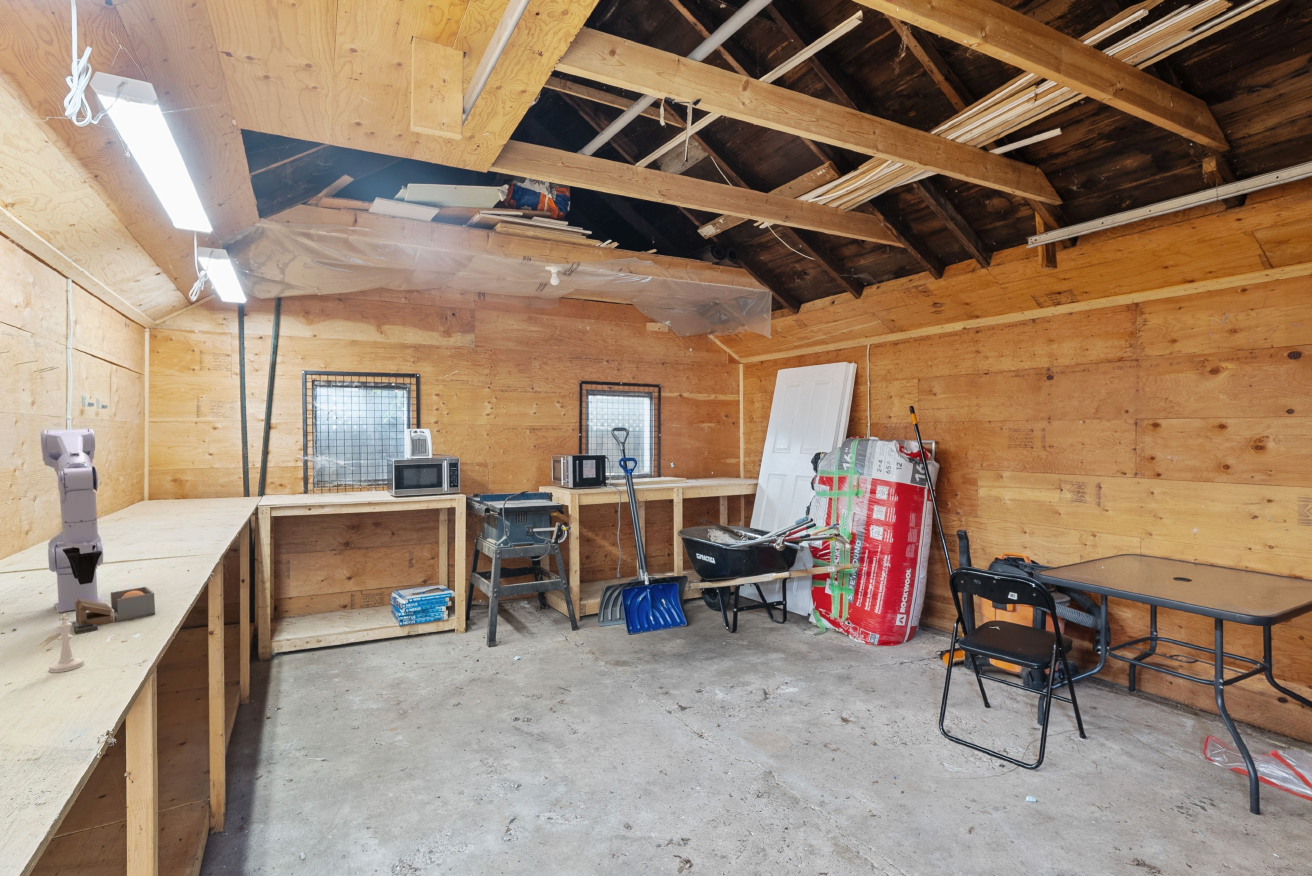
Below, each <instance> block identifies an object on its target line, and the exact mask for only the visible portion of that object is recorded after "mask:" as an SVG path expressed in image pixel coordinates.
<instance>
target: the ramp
mask: <svg viewBox="0 0 1312 876" xmlns="http://www.w3.org/2000/svg"><path fill="white" fill-rule="evenodd" d="M74 611H75V620H76V623H77V625H78V626H80V625H85V624H91V623H96V624H97V626H99V625H104V624H109V623H110V624H111V623H115V622H116V621H115V615H114V610H113V609H112V608H111V604H109V603H103V602H102V603H98V602H93V601H88V600H83V599H77V601H76V602H75V610H74Z"/></svg>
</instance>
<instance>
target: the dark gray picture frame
mask: <svg viewBox="0 0 1312 876" xmlns="http://www.w3.org/2000/svg"><path fill="white" fill-rule="evenodd" d="M98 630H99V625H97V624H96V623H91V624H85V625H80V626H79V625H75V626H73V631H74V633H75V634H76V635H79V634H82V633H89V632H92V631H98Z"/></svg>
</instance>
